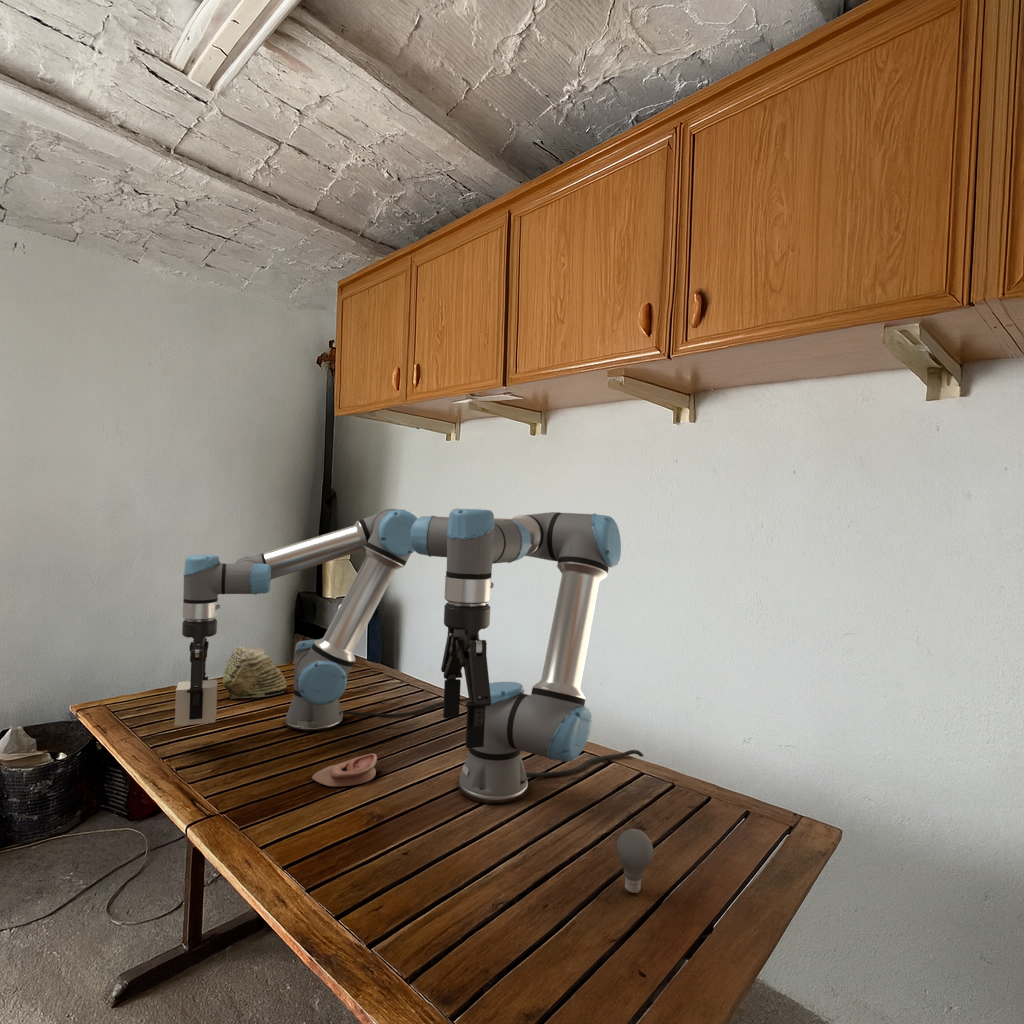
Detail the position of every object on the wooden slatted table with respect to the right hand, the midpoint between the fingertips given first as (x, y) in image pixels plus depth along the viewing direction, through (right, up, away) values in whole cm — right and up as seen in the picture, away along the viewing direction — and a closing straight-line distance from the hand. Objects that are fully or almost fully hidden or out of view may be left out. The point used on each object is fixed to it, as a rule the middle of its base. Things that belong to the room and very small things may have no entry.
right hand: (462, 731), depth 104 cm
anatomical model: (-30, -24, +39) cm, 55 cm away
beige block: (-68, -14, +49) cm, 85 cm away
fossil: (-72, -21, +94) cm, 120 cm away
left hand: (-68, -13, +49) cm, 85 cm away
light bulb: (+28, -27, +1) cm, 39 cm away
